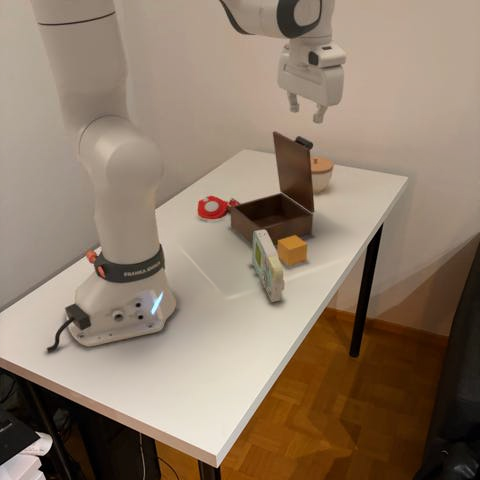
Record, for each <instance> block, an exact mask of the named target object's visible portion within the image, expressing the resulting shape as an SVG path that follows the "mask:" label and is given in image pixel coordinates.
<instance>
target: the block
mask: <svg viewBox="0 0 480 480" xmlns="http://www.w3.org/2000/svg"><path fill="white" fill-rule="evenodd" d="M276 247H277V249H276V251H277V253H278V256H279V260H280V261H282V262H283V263H285V264H286V265H287V266H291V265H295V264H298V263H301V262H303V261H307V254H308V243H307V242H305V241H304V240H303V239H302V238H299V237H297V236H296V235H294V236H290V237H287V238H284V239H281V240H278V245H276Z"/></svg>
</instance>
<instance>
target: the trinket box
mask: <svg viewBox="0 0 480 480" xmlns="http://www.w3.org/2000/svg"><path fill="white" fill-rule="evenodd" d="M310 159H311V172H312V185H313V194H316V193H317V194H318V193H321V192H322V191H324V189H325V188H327V187H328V185H329V184H330V182H331V179H332V177H333V171H334V166H335V165H334V162H333V161H332V160H331V159H329V158H326V157H320V156H310Z"/></svg>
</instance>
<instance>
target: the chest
mask: <svg viewBox="0 0 480 480" xmlns="http://www.w3.org/2000/svg"><path fill="white" fill-rule="evenodd" d="M229 210H230V226H231V227H232V228H233V229H234V230H235V231H237V233H239V235H241V236H242V237H243V238H244V239H245V240H246V241H247V242H249V243H250V244H251V245H252V246H253V233H254V231H258V230H266V231H267V233H268V235H269V237H270V239H271V241H272V243H273V245H274V247H275V246H276V247H277V246H278V240H281V239H284V238H287V237H290V236H294V235H296V236H297V237H299V238H300V239H302V238H304V237H307V236H310V235H312V233H313V222H314V214H313V213H311V212H310V211H308V210H307V209H305V208H304V207H302V206H301V205H299V204H298V203H296V202H295V201H293V200H292V199H291V198H289V197H288V196H286V195H285V194H283V193H282V192H279V193H275V194H272V195H268V196H264V197H259V198H257V199H252V200H249V201H246V202H241V204H238V205H234V206H230V209H229Z"/></svg>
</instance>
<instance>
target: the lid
mask: <svg viewBox="0 0 480 480" xmlns="http://www.w3.org/2000/svg"><path fill="white" fill-rule="evenodd" d="M272 137H273V147H274V153H275V161H276V169H277V178H278V184H279V191H280V192H279V193H282V194H284V195H285V196H287V197H288V198H290V199H291V200H293V201H294V202H296V203H297V204H299V205H300V206H301V207H303V208H304V209H306V210H307V211H309V212H310V213H312V214H313V213H315V200H314V199H315V198H314V193H313V185H312V172H311V159H310V157H311V150H312V149H313V148H314V142H312V141H311V140H309V139H307V138H305V137H302V136H300V135H298V136H296V137H295V139H294V140H293V139H291V138H289V137H288V136H286V135H283V134H282V133H280V132H278V131H276V130H274V131H273V132H272Z"/></svg>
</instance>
